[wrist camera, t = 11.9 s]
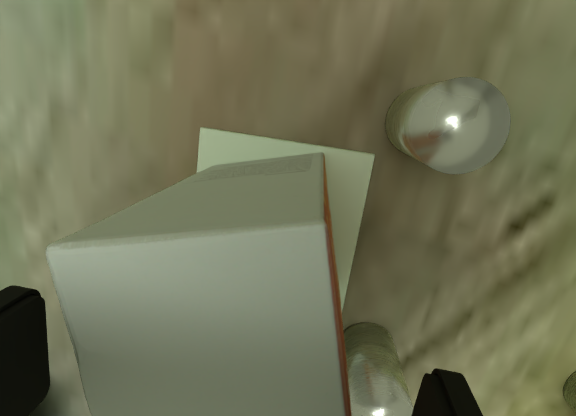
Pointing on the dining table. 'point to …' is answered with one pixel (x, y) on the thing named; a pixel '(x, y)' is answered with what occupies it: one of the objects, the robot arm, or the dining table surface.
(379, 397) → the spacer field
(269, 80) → the dining table surface
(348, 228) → the sage mat
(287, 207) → the small box
